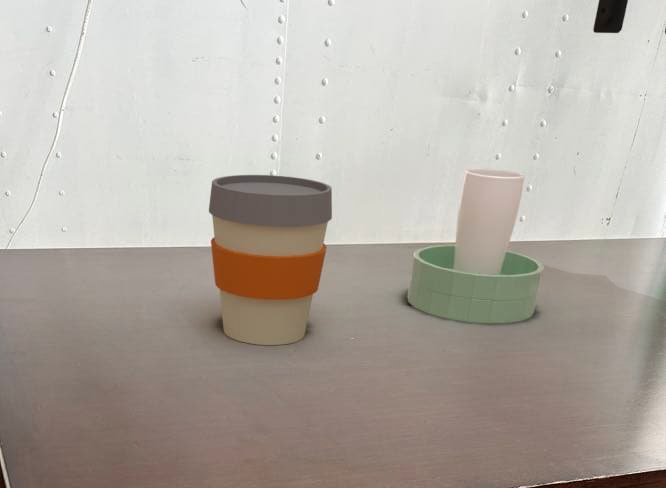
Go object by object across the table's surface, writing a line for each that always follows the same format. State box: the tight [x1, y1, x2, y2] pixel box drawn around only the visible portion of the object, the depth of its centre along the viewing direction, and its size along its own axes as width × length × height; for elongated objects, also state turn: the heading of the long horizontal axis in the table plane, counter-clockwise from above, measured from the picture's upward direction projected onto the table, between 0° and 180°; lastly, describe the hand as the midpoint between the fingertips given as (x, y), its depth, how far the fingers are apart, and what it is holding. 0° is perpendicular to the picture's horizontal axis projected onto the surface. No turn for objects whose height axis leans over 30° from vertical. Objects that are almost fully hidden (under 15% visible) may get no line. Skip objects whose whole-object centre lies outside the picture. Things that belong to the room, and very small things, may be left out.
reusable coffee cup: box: [208, 174, 333, 346], centre depth 86 cm, size 13×13×15 cm
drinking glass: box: [453, 167, 525, 275], centre depth 96 cm, size 7×7×15 cm
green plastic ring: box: [407, 244, 545, 324], centre depth 99 cm, size 15×15×6 cm
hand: (643, 34), depth 82 cm, fingers open, 9 cm apart
